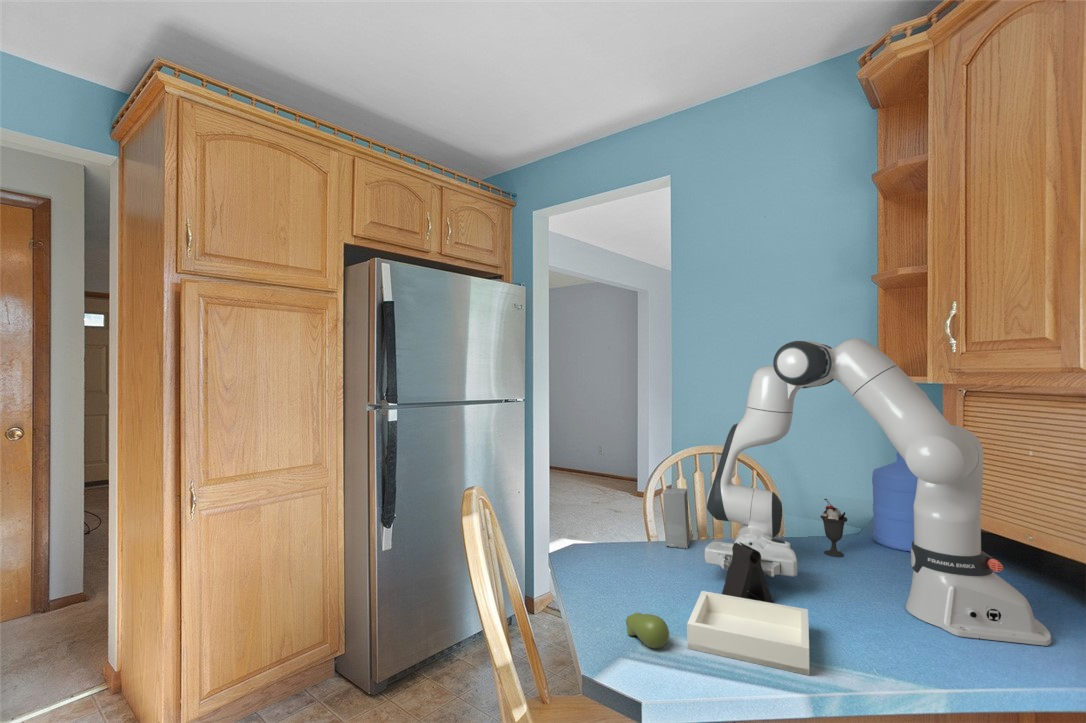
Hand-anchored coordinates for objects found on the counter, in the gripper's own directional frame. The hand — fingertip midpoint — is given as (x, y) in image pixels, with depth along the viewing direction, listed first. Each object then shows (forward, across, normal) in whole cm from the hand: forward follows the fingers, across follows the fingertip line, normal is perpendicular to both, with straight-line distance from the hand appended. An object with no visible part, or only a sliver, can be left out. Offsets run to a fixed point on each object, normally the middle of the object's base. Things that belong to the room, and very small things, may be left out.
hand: (747, 569), depth 117 cm
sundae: (-41, +19, +7) cm, 46 cm away
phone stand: (+1, 0, +7) cm, 7 cm away
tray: (+19, +2, +6) cm, 20 cm away
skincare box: (-31, -22, +7) cm, 39 cm away
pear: (+27, -16, +7) cm, 32 cm away
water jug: (-59, +38, +7) cm, 70 cm away
